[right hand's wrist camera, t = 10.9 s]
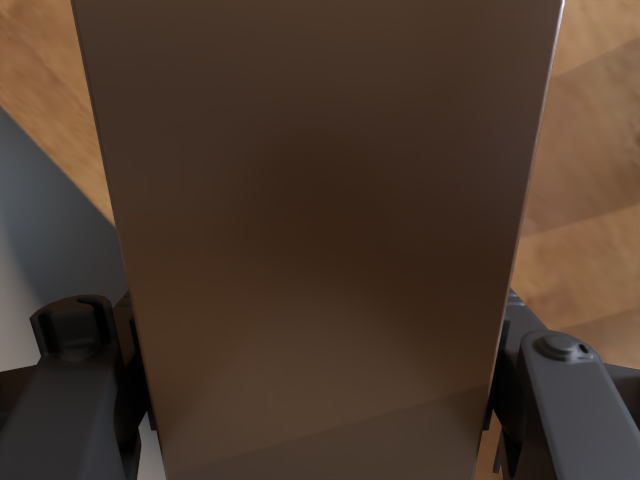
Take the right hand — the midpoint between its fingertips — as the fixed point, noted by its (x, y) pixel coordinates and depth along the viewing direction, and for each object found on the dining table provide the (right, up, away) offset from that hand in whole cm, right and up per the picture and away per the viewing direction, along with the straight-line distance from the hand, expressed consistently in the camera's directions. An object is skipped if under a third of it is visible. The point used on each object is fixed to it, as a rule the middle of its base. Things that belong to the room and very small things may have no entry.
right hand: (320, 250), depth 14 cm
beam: (0, +25, -9) cm, 27 cm away
